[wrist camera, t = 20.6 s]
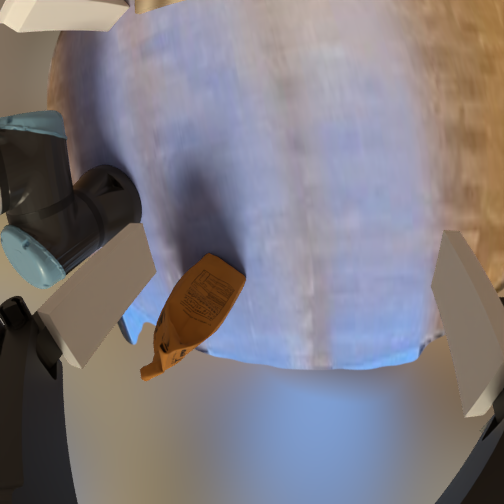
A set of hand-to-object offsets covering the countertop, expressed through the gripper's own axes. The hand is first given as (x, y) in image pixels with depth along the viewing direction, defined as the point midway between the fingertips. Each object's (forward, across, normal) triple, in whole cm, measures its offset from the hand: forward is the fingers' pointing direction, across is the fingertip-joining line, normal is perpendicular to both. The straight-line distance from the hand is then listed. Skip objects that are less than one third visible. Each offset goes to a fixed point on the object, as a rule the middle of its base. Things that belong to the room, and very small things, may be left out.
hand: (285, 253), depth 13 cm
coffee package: (+32, -19, -26) cm, 45 cm away
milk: (+34, -31, +26) cm, 53 cm away
